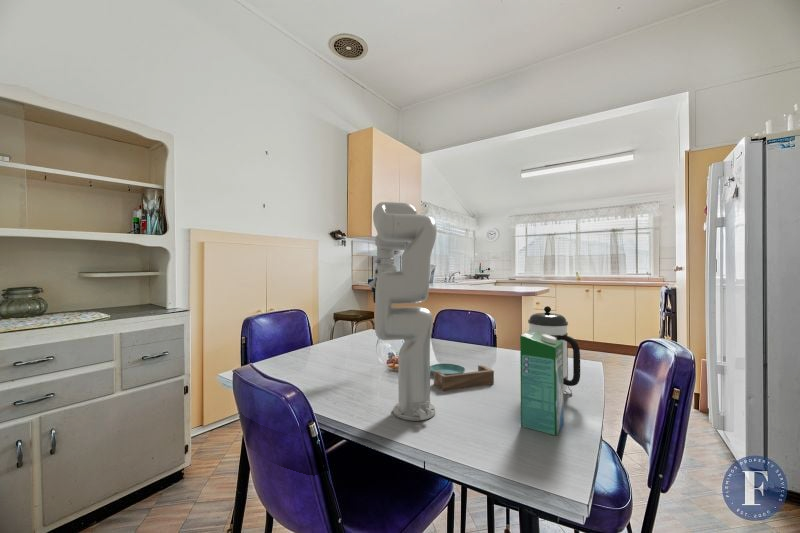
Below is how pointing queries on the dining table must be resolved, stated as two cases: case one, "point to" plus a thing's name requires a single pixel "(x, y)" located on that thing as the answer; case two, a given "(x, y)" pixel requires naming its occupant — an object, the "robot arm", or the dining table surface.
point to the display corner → (464, 379)
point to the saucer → (447, 369)
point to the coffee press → (558, 329)
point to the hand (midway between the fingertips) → (385, 302)
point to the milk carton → (541, 382)
